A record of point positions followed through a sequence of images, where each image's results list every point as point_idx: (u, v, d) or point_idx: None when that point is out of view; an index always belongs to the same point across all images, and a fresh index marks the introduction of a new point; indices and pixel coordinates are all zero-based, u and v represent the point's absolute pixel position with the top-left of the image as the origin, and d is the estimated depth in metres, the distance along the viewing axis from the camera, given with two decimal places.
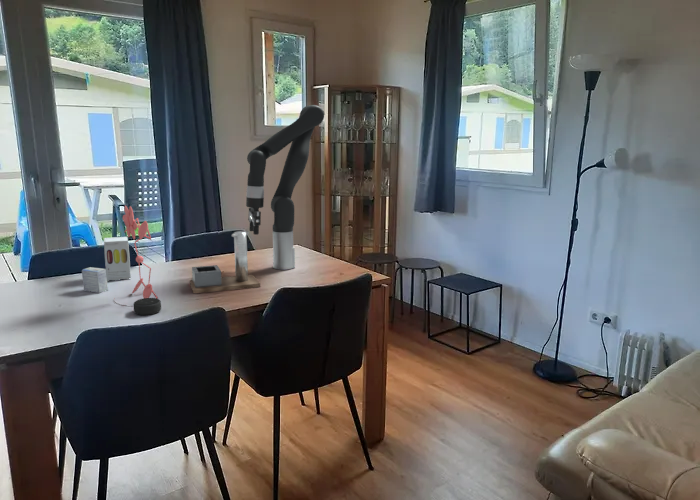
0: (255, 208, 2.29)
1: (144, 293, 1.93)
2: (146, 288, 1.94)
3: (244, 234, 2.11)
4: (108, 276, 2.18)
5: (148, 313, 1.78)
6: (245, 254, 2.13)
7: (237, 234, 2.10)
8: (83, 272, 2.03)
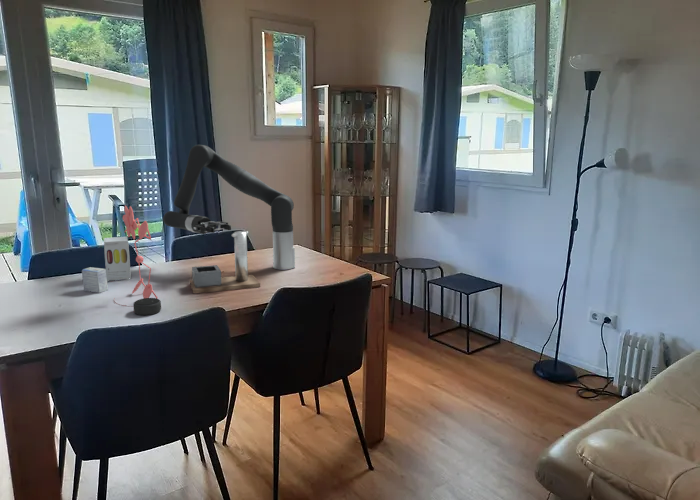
0: None
1: (144, 294, 1.93)
2: (146, 288, 1.94)
3: (244, 234, 2.11)
4: (108, 276, 2.18)
5: (148, 313, 1.78)
6: (245, 254, 2.13)
7: (237, 234, 2.10)
8: (83, 272, 2.03)
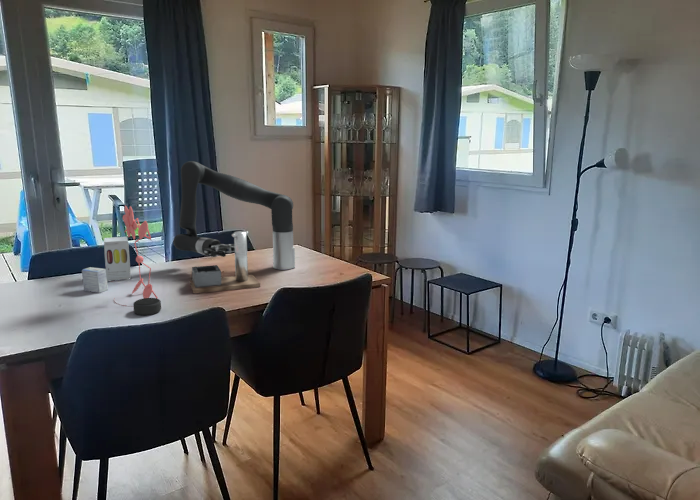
0: None
1: (144, 293, 1.93)
2: (146, 288, 1.94)
3: (244, 234, 2.11)
4: (108, 276, 2.18)
5: (148, 313, 1.78)
6: (245, 254, 2.13)
7: (237, 234, 2.10)
8: (83, 272, 2.03)
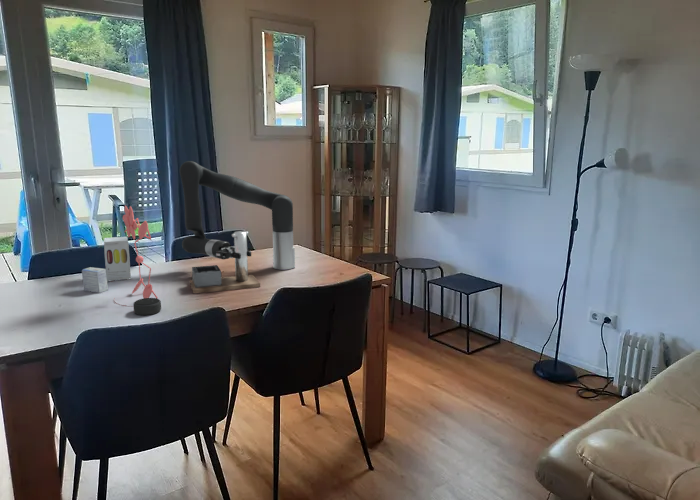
0: None
1: (144, 293, 1.93)
2: (146, 288, 1.94)
3: (244, 234, 2.11)
4: (108, 276, 2.18)
5: (148, 313, 1.78)
6: (245, 254, 2.13)
7: (237, 234, 2.10)
8: (83, 272, 2.03)
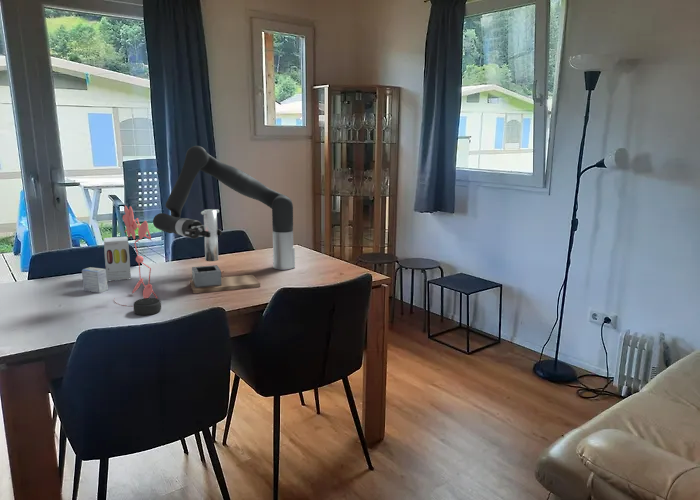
0: None
1: (144, 293, 1.93)
2: (146, 288, 1.94)
3: (214, 212, 2.05)
4: (108, 276, 2.18)
5: (148, 313, 1.78)
6: (215, 233, 2.07)
7: (206, 212, 2.04)
8: (83, 272, 2.03)
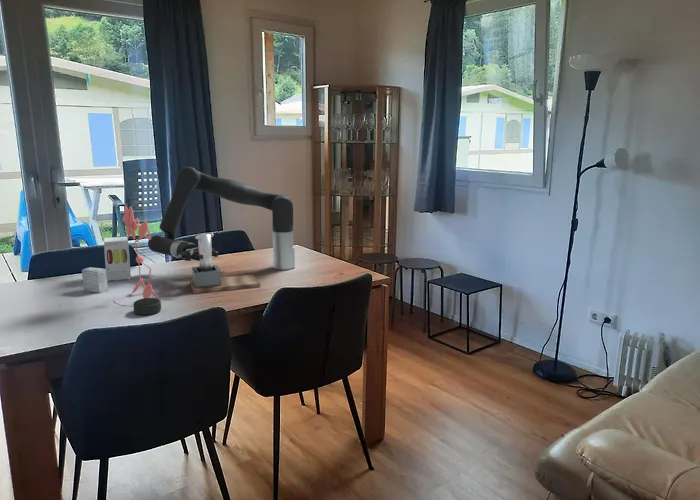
0: None
1: (144, 293, 1.93)
2: (146, 288, 1.94)
3: (208, 236, 2.06)
4: (108, 276, 2.18)
5: (149, 313, 1.78)
6: (209, 257, 2.08)
7: (201, 236, 2.05)
8: (83, 272, 2.03)
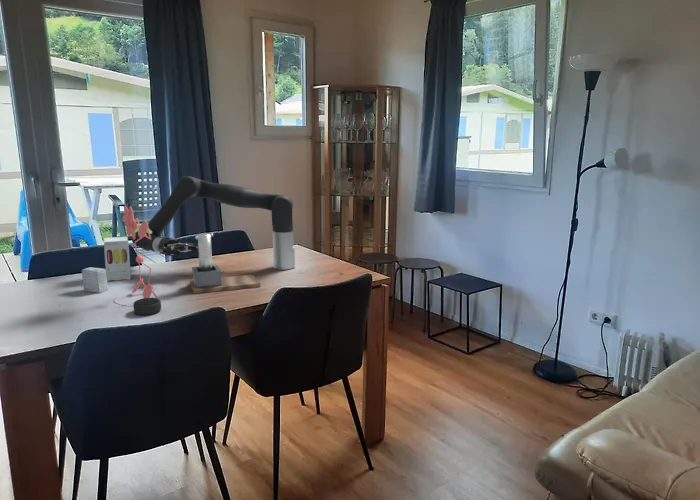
0: None
1: (144, 293, 1.93)
2: (146, 288, 1.94)
3: (208, 236, 2.06)
4: (108, 276, 2.18)
5: (149, 313, 1.79)
6: (209, 257, 2.08)
7: (200, 236, 2.05)
8: (83, 272, 2.03)
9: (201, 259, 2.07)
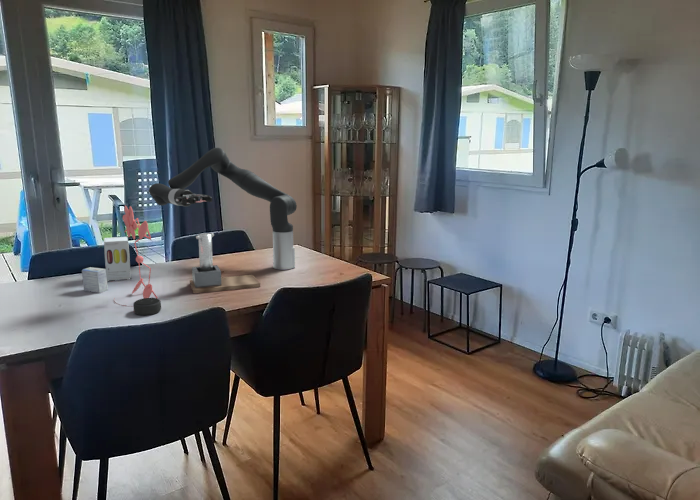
0: None
1: (144, 293, 1.93)
2: (146, 288, 1.94)
3: (209, 236, 2.06)
4: (108, 276, 2.18)
5: (149, 313, 1.79)
6: (210, 257, 2.08)
7: (201, 236, 2.05)
8: (83, 272, 2.03)
9: (201, 259, 2.07)
